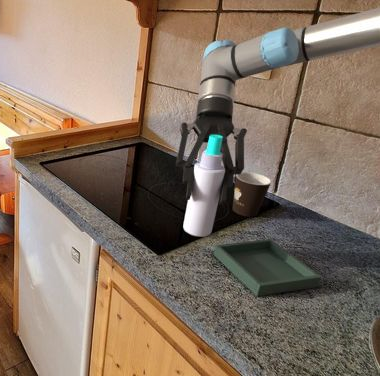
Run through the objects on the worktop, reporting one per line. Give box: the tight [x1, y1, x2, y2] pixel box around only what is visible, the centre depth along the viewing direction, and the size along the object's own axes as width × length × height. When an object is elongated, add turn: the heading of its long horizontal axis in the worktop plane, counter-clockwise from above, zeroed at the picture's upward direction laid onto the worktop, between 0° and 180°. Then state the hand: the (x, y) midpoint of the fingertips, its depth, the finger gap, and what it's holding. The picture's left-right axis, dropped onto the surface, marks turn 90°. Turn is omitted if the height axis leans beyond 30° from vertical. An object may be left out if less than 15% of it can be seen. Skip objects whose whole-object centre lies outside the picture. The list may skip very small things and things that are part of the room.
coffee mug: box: [232, 171, 272, 218], centre depth 112 cm, size 12×9×10 cm
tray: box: [213, 238, 322, 297], centre depth 87 cm, size 15×15×3 cm
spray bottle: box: [182, 135, 225, 238], centre depth 86 cm, size 6×6×22 cm
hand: (205, 200), depth 84 cm, fingers closed on spray bottle, 6 cm apart
